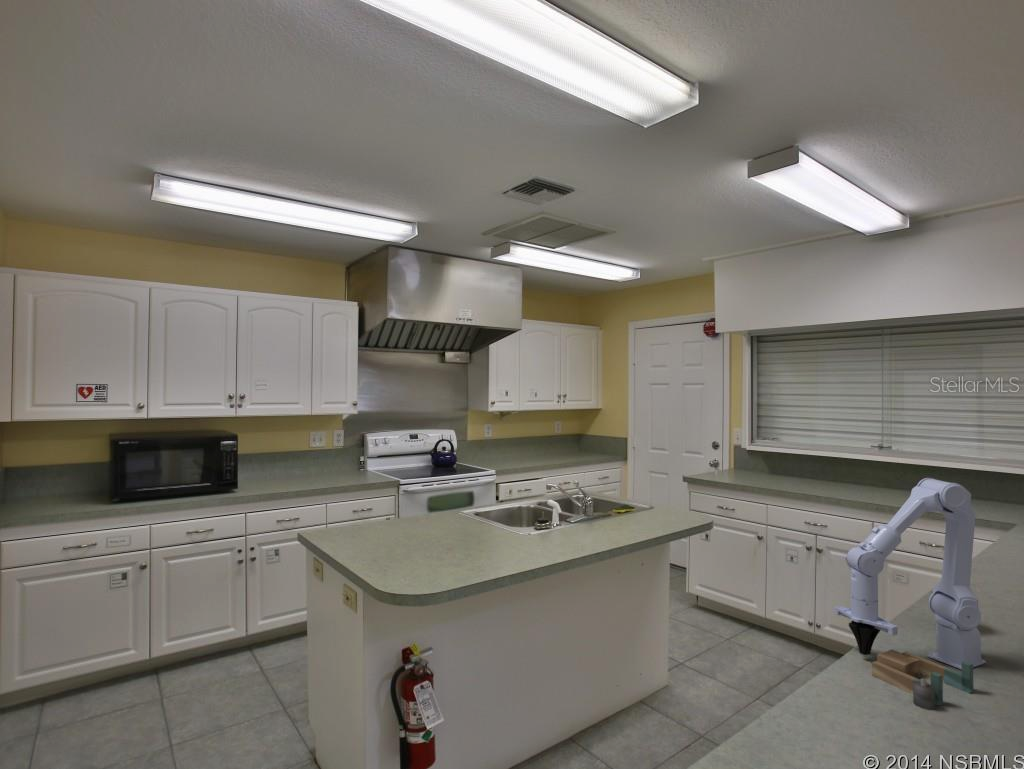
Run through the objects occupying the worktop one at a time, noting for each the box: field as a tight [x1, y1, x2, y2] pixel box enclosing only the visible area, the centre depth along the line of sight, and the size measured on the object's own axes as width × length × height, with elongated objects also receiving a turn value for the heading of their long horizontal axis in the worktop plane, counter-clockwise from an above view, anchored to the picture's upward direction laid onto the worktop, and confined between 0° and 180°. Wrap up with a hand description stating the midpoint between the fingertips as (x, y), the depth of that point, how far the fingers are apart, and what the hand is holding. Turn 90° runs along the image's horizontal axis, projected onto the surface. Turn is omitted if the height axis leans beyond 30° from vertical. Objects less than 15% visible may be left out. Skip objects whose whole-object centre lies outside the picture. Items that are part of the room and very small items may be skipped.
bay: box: [871, 651, 975, 710], centre depth 126 cm, size 17×14×6 cm
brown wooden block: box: [876, 649, 921, 679], centre depth 132 cm, size 6×6×4 cm
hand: (865, 653), depth 139 cm, fingers closed
